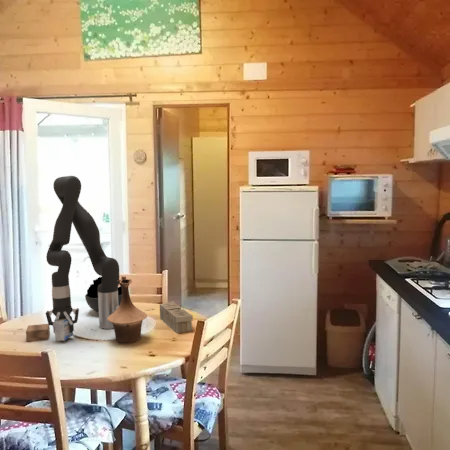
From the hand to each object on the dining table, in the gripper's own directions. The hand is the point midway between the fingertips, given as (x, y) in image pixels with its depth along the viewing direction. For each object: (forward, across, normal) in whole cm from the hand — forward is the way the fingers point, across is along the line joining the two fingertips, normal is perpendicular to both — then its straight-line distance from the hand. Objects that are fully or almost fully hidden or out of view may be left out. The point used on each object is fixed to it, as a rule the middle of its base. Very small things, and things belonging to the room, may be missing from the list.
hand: (63, 333), depth 214 cm
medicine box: (+2, 0, 0) cm, 2 cm away
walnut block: (+3, +12, -7) cm, 14 cm away
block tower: (+4, -50, -11) cm, 51 cm away
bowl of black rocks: (+4, -16, -41) cm, 44 cm away
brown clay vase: (+4, -28, +6) cm, 28 cm away
